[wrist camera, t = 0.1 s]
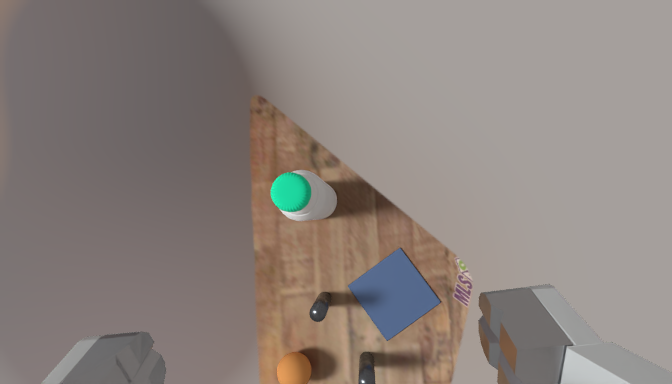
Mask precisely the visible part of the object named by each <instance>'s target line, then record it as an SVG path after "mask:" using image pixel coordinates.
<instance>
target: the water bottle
mask: <svg viewBox="0 0 672 384" xmlns="http://www.w3.org/2000/svg"><path fill="white" fill-rule="evenodd" d="M271 198H272V200H273V201H274V204H275V205H276V206H277V207H278V208H279V209H280V210H281V212H282V213H283V214H284V215H286V216H287V217H288V218H290V219H293V220H297V221H306V220H317V219H324V218H327V217H328V216H330V215H331V214H332V213H333V212H334V210H335V208H336V205H337V196H336V193H335V191H334V190H333V188H332V187H331V186H330V185H328V184H327V183H325V182H324V181H323V180H322V179H321V178H319V177H318V176H317V175H316V174H314V173H312V172H310V171H306V170H297V171H293V172H288V173H284V174H282V175H280V176H279V177H278V178H277V179H276V180H275V181H274V183H273V185H272V189H271Z"/></svg>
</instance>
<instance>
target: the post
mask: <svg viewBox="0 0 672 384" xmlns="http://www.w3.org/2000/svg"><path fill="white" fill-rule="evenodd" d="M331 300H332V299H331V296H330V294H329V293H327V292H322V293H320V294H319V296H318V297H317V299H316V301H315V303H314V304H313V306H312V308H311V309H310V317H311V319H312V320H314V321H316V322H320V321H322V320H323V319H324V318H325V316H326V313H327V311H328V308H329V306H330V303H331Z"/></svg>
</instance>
